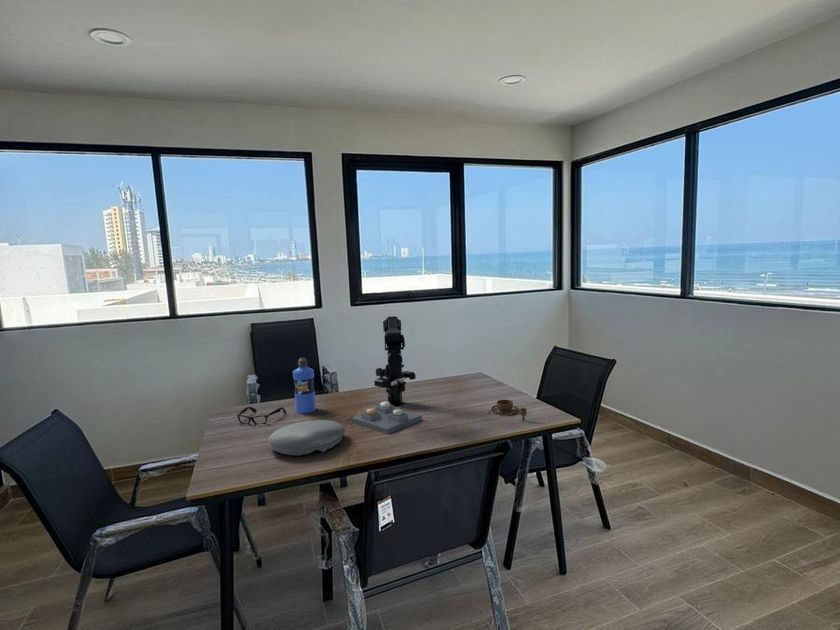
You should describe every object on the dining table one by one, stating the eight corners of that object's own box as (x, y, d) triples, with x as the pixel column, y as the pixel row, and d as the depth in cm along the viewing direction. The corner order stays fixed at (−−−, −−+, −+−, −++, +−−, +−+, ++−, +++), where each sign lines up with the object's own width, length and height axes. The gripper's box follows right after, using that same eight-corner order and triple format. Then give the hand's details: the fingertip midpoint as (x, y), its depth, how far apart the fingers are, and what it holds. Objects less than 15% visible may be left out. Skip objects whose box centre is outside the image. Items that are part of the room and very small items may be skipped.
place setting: (524, 408, 203) (524, 395, 202) (528, 424, 183) (528, 410, 182) (485, 407, 205) (485, 395, 205) (485, 423, 186) (484, 409, 185)
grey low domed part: (315, 425, 189) (314, 415, 189) (361, 440, 171) (360, 429, 171) (254, 449, 168) (253, 438, 167) (299, 468, 150) (298, 456, 150)
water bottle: (313, 413, 204) (309, 359, 202) (293, 414, 205) (289, 360, 202) (318, 407, 214) (315, 355, 211) (298, 407, 214) (295, 356, 211)
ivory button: (385, 405, 201) (385, 401, 201) (391, 407, 198) (391, 402, 198) (378, 407, 198) (378, 403, 198) (385, 409, 196) (384, 404, 195)
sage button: (397, 413, 190) (397, 408, 190) (404, 414, 187) (404, 410, 187) (391, 415, 187) (390, 411, 187) (397, 417, 185) (397, 412, 184)
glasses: (233, 426, 194) (232, 415, 194) (254, 411, 212) (253, 401, 211) (269, 427, 192) (268, 416, 191) (287, 412, 209) (286, 401, 209)
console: (386, 409, 206) (385, 401, 205) (421, 419, 191) (421, 410, 190) (351, 422, 191) (351, 413, 191) (387, 434, 176) (386, 424, 176)
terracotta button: (371, 412, 192) (371, 407, 192) (377, 414, 190) (377, 409, 190) (364, 414, 190) (364, 410, 189) (370, 416, 187) (370, 412, 187)
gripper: (397, 356, 197) (398, 391, 199) (364, 364, 184) (366, 401, 185) (415, 359, 190) (417, 395, 191) (383, 367, 176) (384, 406, 178)
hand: (396, 399), depth 187 cm, fingers closed
